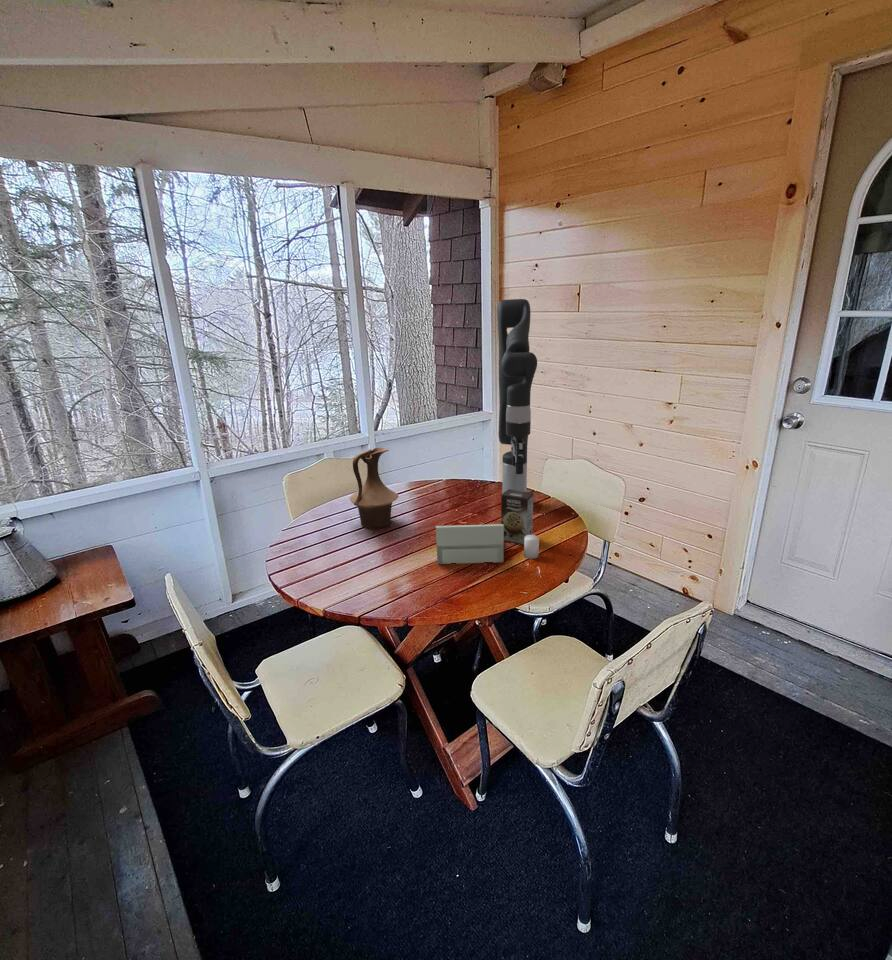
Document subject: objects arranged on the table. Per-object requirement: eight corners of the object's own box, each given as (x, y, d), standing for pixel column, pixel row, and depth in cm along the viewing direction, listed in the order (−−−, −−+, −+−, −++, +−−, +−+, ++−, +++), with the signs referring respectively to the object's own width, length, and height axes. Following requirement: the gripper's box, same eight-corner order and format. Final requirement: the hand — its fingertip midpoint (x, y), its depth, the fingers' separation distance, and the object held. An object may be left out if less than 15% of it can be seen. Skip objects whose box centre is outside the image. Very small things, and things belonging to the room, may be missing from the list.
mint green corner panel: (438, 543, 169) (436, 509, 165) (499, 542, 168) (499, 508, 165) (437, 564, 155) (435, 527, 152) (503, 562, 155) (503, 525, 151)
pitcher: (375, 537, 174) (368, 458, 165) (341, 526, 184) (333, 451, 175) (409, 520, 188) (404, 446, 179) (375, 511, 198) (370, 440, 189)
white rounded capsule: (523, 552, 161) (523, 534, 159) (537, 552, 161) (537, 534, 159) (525, 558, 157) (525, 541, 155) (539, 558, 157) (540, 540, 155)
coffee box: (500, 540, 170) (500, 494, 164) (507, 532, 175) (507, 488, 170) (526, 545, 165) (527, 498, 160) (532, 537, 171) (534, 492, 166)
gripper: (503, 415, 164) (503, 463, 169) (508, 424, 151) (508, 477, 156) (527, 414, 164) (526, 462, 169) (534, 424, 151) (532, 476, 156)
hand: (517, 469), depth 163 cm, fingers open, 8 cm apart
